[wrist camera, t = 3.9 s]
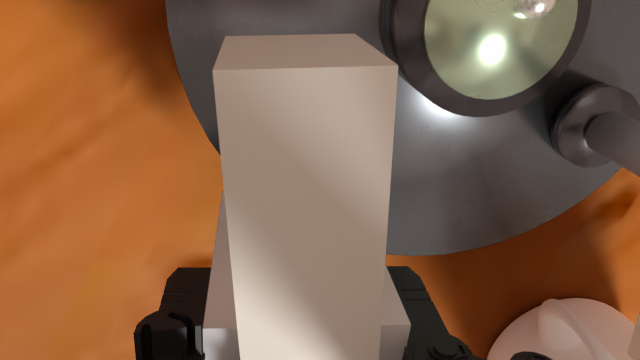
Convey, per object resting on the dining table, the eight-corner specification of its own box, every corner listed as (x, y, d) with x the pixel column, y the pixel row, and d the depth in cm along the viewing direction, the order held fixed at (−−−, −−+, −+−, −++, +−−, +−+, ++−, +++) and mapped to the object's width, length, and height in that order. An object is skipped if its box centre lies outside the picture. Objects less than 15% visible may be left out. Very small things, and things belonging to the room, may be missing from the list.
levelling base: (216, 254, 22) (204, 340, 17) (113, -354, 13) (29, -542, 8) (626, 209, 23) (725, 275, 19) (769, -350, 15) (1021, -501, 10)
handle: (234, 12, 15) (209, 78, 7) (324, 11, 15) (408, 72, 7) (252, 259, 18) (250, 492, 10) (324, 254, 19) (376, 476, 11)
